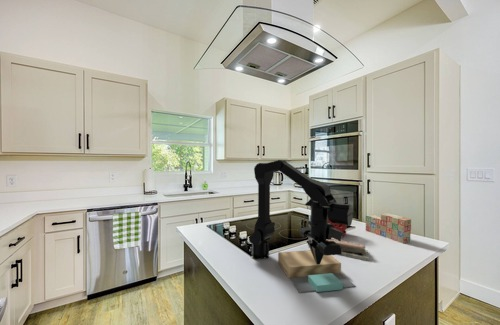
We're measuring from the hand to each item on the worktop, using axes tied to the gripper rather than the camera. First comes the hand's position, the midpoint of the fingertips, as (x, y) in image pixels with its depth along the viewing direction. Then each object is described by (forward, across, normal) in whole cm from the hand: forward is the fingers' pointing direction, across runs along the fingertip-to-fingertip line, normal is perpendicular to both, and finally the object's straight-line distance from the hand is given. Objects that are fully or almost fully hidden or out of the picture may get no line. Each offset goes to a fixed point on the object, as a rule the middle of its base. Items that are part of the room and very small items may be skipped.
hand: (317, 263), depth 76 cm
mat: (+5, -3, 0) cm, 6 cm away
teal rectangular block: (+3, -5, 0) cm, 6 cm away
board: (+5, +7, 0) cm, 9 cm away
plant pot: (+5, +40, -33) cm, 52 cm away
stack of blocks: (+6, +33, -60) cm, 69 cm away
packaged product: (+6, +18, -24) cm, 31 cm away
